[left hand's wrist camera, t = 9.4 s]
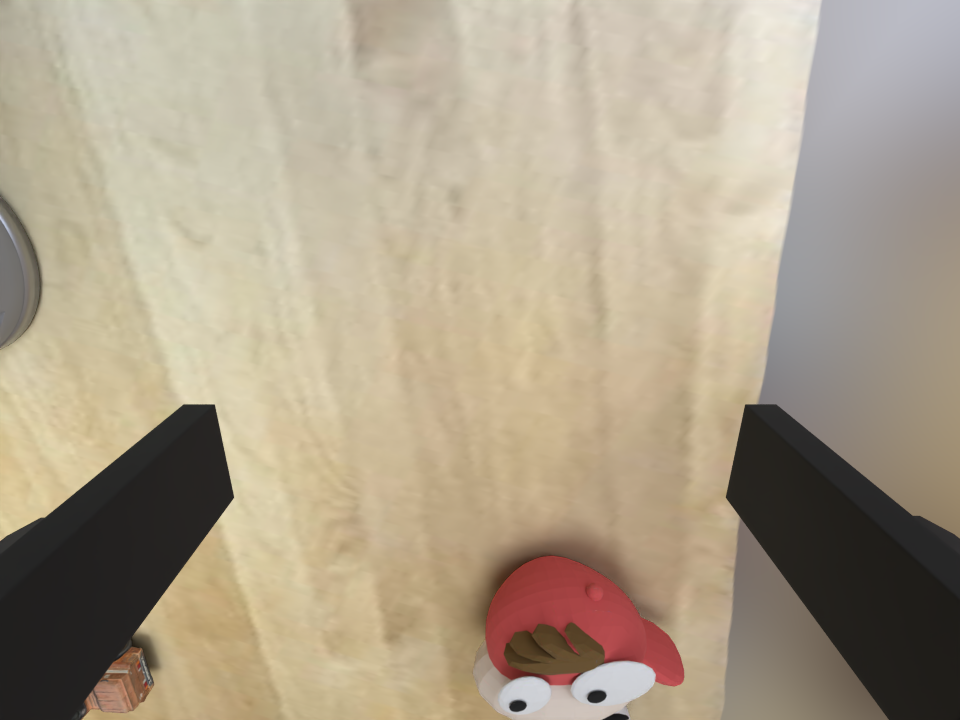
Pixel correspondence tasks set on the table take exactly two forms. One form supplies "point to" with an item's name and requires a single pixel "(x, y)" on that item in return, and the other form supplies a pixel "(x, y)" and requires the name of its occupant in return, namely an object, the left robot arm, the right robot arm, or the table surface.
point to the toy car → (120, 684)
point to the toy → (569, 646)
